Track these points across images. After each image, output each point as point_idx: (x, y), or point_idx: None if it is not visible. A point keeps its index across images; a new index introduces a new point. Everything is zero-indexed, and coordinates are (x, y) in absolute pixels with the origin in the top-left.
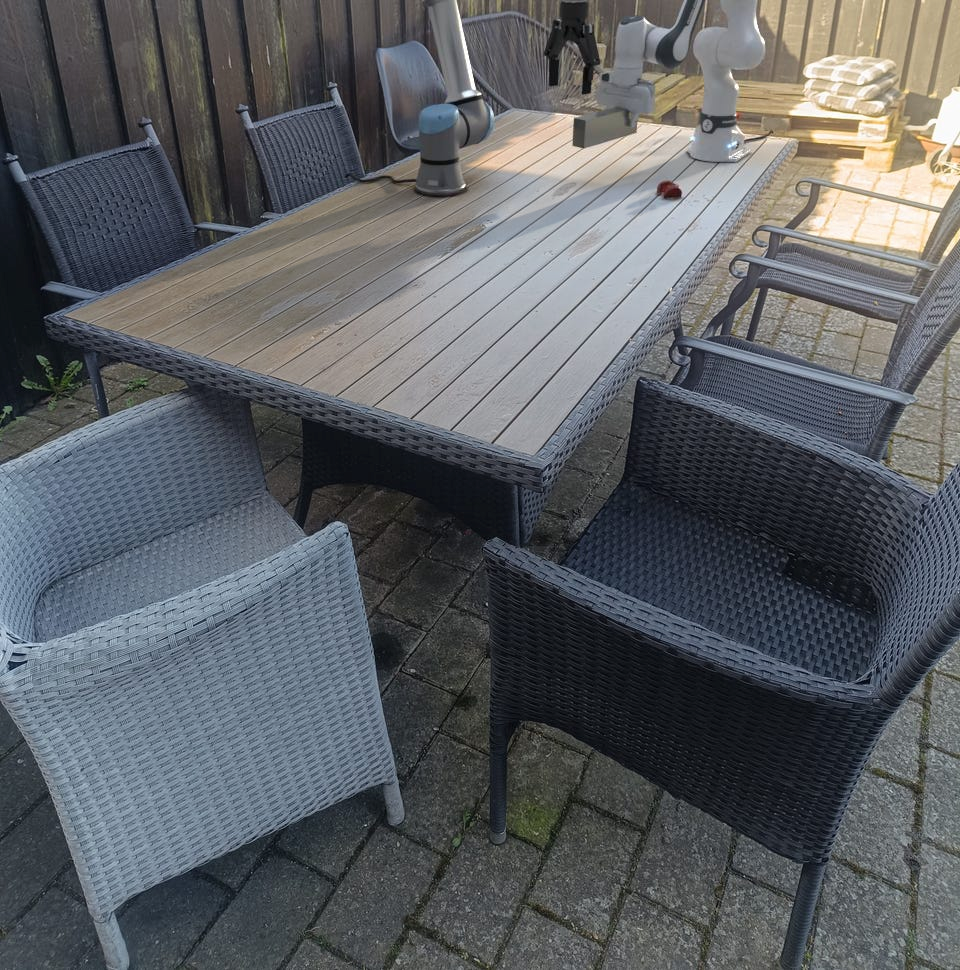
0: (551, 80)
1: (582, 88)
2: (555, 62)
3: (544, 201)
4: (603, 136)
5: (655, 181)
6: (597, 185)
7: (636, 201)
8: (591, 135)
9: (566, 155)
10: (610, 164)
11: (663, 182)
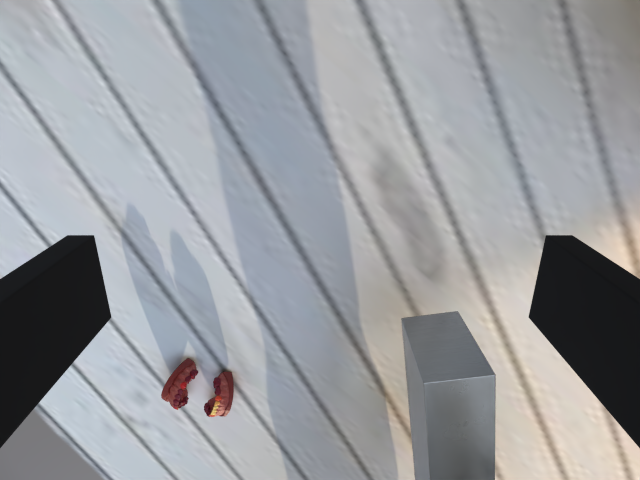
0: (573, 265)
1: (58, 256)
2: None
3: (362, 92)
4: (413, 419)
5: (311, 429)
6: (377, 311)
7: (212, 298)
8: (411, 374)
9: None
10: None
11: (216, 399)
